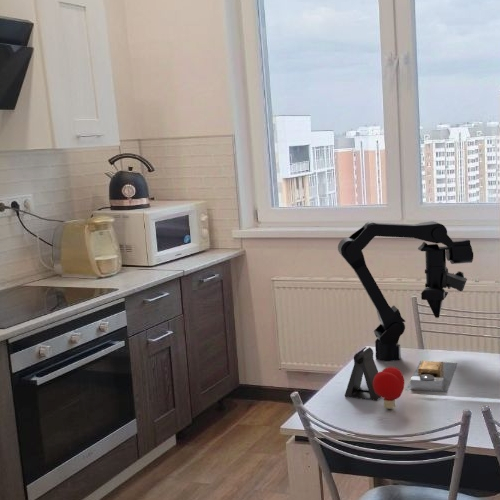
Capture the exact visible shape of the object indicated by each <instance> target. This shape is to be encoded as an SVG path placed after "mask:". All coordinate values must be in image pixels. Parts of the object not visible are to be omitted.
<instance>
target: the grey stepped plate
mask: <svg viewBox="0 0 500 500" xmlns="http://www.w3.org/2000/svg"><path fill="white" fill-rule="evenodd" d="M422 361H423V360H420V361H419V362H418V365H417V367H416V369H415V370H414V373H413V374H412V376H411V378H410V381H409V383H408V384H407V387H406V388H405V391H417V392H418V391H419V392H429V393H430V392H433V393H434V394H433V393H432V395H436V393H448V391H449V388H450V385H451V383H452V380H453V376H454V374H455V371H456V369H457V365H458V362H447V361H442V362H443V374H444V376H443V378H438V377H437V373H426V374H424V375H420V376H418V368H419V366H420V364H421V362H422ZM417 394H419V395H420V393H417Z"/></svg>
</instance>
